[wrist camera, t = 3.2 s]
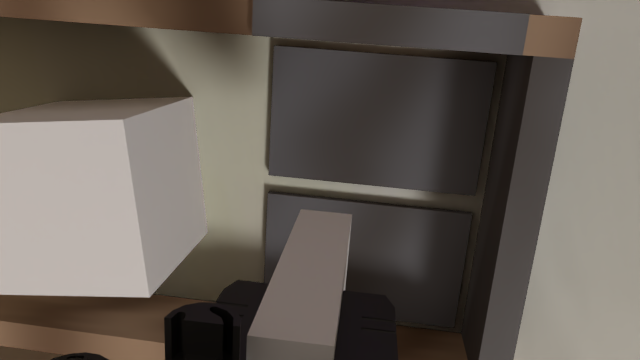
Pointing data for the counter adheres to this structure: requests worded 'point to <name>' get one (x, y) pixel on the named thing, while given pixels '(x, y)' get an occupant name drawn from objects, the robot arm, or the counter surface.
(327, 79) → the wooden tray
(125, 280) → the white cube
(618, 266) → the counter surface
